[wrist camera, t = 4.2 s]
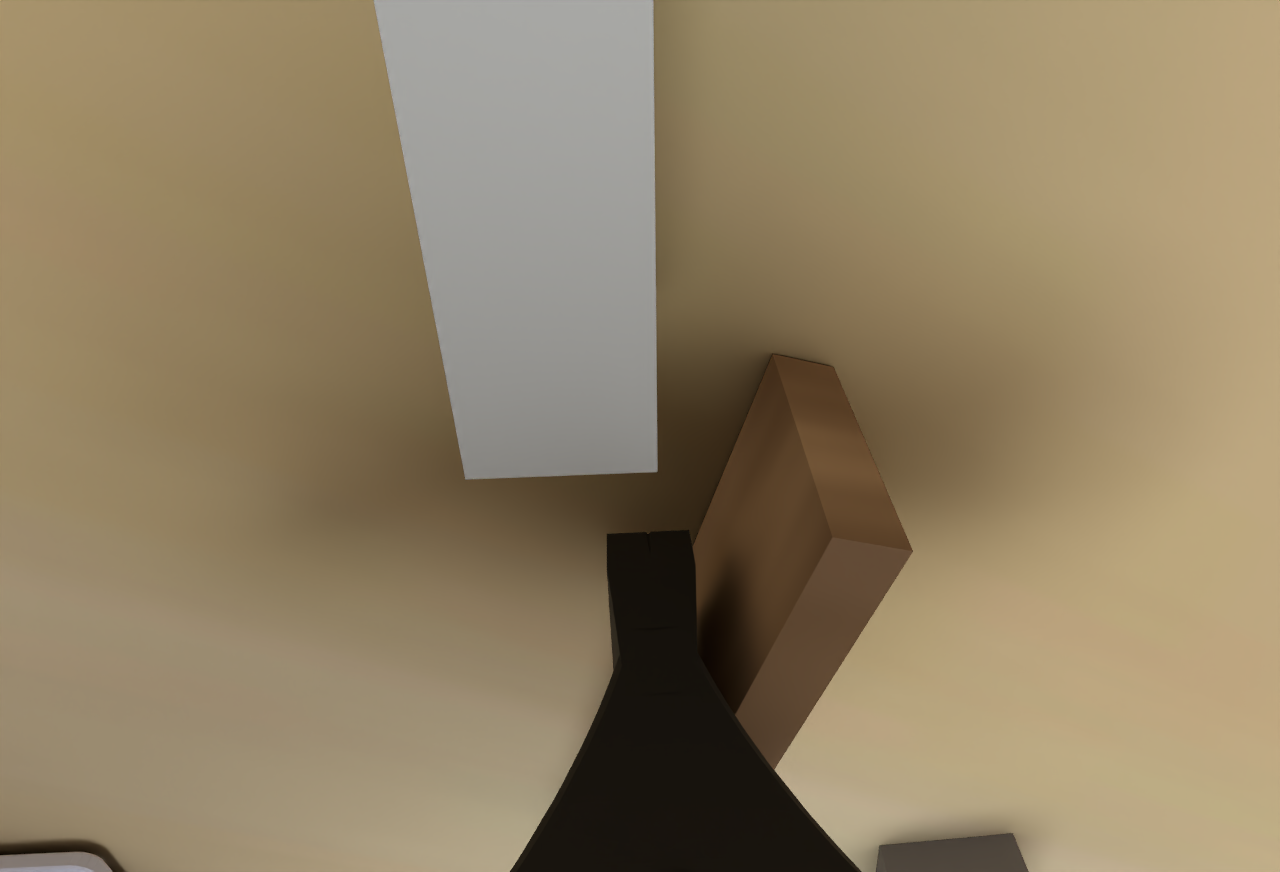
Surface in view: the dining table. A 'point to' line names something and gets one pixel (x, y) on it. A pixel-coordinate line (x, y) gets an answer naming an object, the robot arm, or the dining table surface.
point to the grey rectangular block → (953, 855)
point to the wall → (535, 223)
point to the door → (792, 552)
